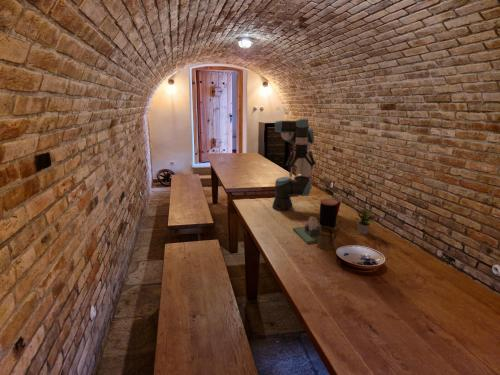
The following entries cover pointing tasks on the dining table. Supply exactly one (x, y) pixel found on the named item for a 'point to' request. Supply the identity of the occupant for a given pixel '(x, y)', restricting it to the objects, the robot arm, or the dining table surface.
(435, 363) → the dining table surface
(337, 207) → the plastic cup
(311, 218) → the plug
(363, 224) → the house plant
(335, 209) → the coffee jar
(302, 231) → the board
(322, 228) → the wooden mug
